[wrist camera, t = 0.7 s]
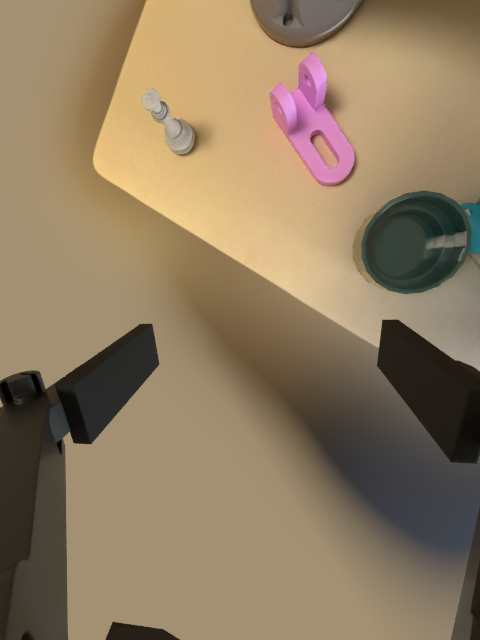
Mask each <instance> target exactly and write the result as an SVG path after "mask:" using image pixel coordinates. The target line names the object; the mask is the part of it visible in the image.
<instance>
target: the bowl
mask: <svg viewBox="0 0 480 640" xmlns="http://www.w3.org/2000/svg"><path fill="white" fill-rule="evenodd" d="M471 231H472V230H471V226H470V223H469V220H468V217H467V214H466V213H465V211H464V210H463V209H462V208H461V207H460V205H459V204H458V203H457V202H456V201H454V200H452V199H451V198H449V197H447V196H445V195H443V194H441V193H435V192H428V191H419V192H413V193H407V194H404V195H402V196H400V197H398V198H395V199H393V200H391V201H389V202H388V203H386V204H385V205H383V206H381V207H380V208H378V209H377V210H376V211H374V212H373V213H372V214H371V215H370V216H369V217H368V218H366V219H365V221H364V222H363V224H362V225H361V227H360V228H359V230H358V231H357V234H356V237H355V241H354V244H353V258H354V261H355V264H356V267H357V269H358V271H359V273H360V274H361V275H362V276H363V277H364V278H365V279H366V280H367V281H368V282H370V283H371V284H373V285H375V286H377V287H379V288H382V289H386V290H389V291H394V292H398V293H403V294H409V293H421V292H424V291H427V290H430V289H433V288H435V287H438V286H439V285H441V284H442V283H444V282H445V281H447V280H448V279H449V278H451V277H452V276H453V275H454V274H455V273H456V272H457V270H458V269H459V268H460V267H461V265H462V264H463V263H464V261H465V259H466V256H467V254H468V251H469V249H470V246H471Z"/></svg>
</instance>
